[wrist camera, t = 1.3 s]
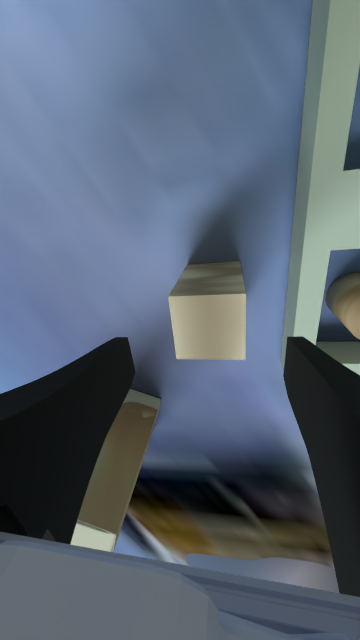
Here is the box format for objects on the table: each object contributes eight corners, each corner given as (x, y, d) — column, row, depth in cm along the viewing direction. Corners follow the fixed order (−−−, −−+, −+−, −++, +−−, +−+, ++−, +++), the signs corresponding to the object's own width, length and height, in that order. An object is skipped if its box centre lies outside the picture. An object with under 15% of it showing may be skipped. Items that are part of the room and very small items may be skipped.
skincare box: (151, 434, 29) (106, 576, 18) (116, 423, 29) (51, 556, 18) (163, 396, 26) (117, 539, 15) (124, 383, 26) (51, 516, 15)
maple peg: (239, 261, 18) (246, 293, 12) (239, 310, 20) (245, 359, 14) (187, 264, 19) (168, 296, 13) (191, 311, 21) (176, 358, 15)
